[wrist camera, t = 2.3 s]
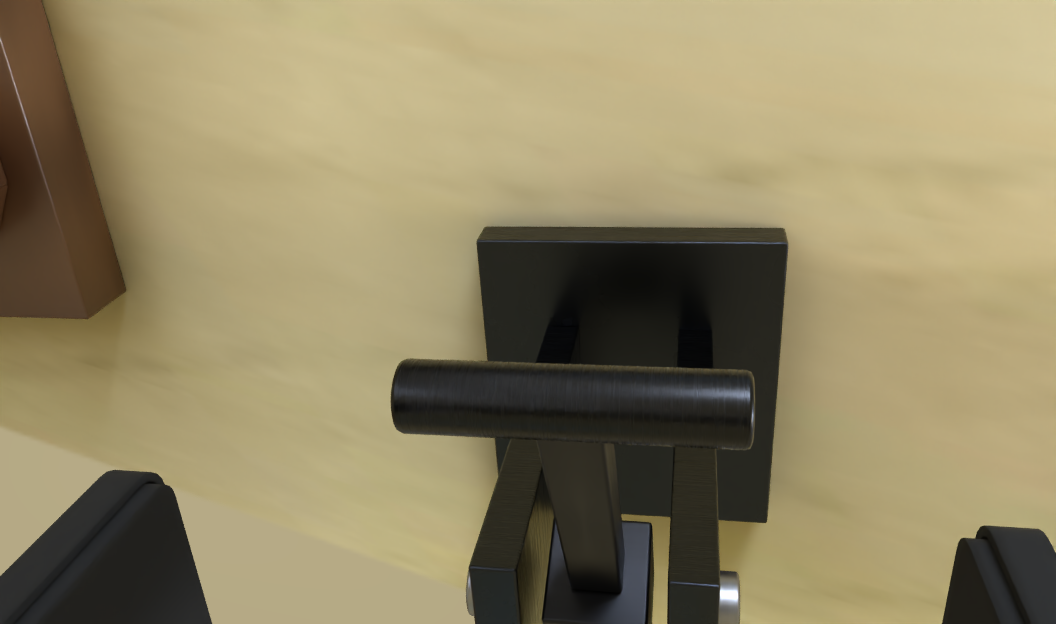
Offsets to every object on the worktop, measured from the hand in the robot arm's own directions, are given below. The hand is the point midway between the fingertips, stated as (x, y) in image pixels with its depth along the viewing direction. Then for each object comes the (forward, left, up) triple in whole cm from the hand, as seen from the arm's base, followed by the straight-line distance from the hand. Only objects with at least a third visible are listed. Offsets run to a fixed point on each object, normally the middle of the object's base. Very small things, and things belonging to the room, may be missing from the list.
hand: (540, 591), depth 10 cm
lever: (+3, 0, -7) cm, 7 cm away
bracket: (+7, 0, -17) cm, 18 cm away
